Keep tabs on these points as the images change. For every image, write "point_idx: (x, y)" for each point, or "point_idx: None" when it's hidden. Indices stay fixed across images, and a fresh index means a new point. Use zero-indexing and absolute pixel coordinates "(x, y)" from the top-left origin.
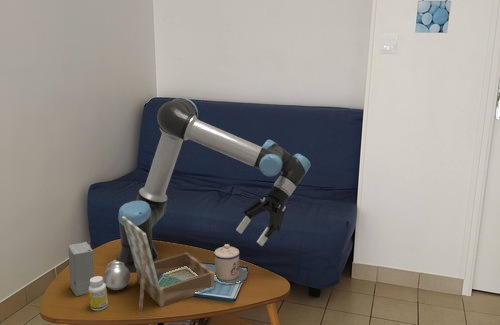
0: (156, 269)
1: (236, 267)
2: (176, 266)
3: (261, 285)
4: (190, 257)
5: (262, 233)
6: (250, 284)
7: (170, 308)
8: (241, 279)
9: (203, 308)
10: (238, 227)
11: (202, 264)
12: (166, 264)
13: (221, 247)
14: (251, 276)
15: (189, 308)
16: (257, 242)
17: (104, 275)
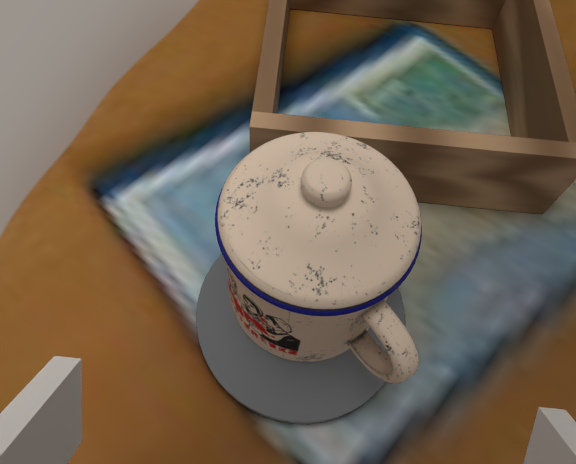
0: (519, 43)
1: (227, 275)
2: (528, 133)
3: None
4: (508, 137)
5: (9, 447)
6: (140, 347)
7: (246, 12)
8: (199, 318)
9: (152, 76)
10: (570, 438)
11: (382, 136)
12: (531, 71)
13: (398, 206)
14: (210, 421)
15: (194, 47)
16: (70, 365)
17: None
